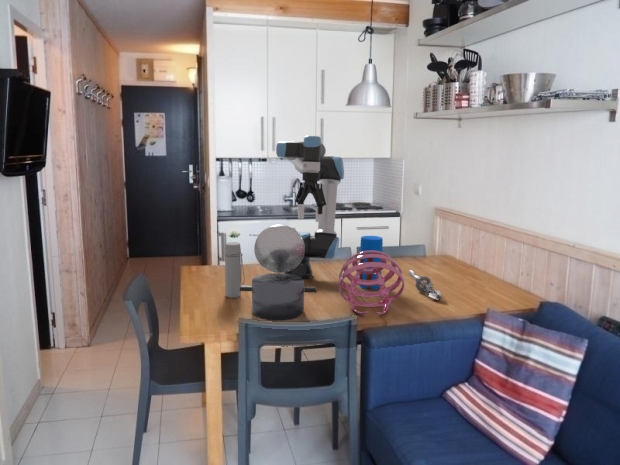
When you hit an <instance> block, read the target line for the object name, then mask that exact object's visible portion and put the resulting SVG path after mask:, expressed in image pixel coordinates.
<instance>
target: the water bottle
mask: <svg viewBox="0 0 620 465" xmlns="http://www.w3.org/2000/svg"><path fill="white" fill-rule="evenodd" d="M243 255H244V253H242V250H241V243H240V242H238V241H237V242H236V241H230V242H225V250H224V264H225V266H224V268H225V269H224V272H225V274H224V276H225V278H224V279H225V281H224V282H225V283H224V284H225V285H224V286H225V288H224V289H225V291H224V292H225V297H227V298H228V299H229V298H230V299H236V298H240V296H241V293H242V291H240V285H245V281H246V280H245V272H244V269H243V268H244V262H243ZM242 276H243V281H242ZM242 282H243V283H242Z"/></svg>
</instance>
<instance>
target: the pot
mask: <svg viewBox="0 0 620 465" xmlns="http://www.w3.org/2000/svg"><path fill="white" fill-rule="evenodd" d="M240 291H241V292H251V313H252V315H253V316H254V317H257V318H258V319H262V320H267V321H275V322H276V321H291V320H294V319H295V320H296V319H298V318H300V317H302V316H303V314H304V313H305V312H304V308H305V293H317V287H316V286H305V279H303V278H302V277H299V276H297V275H292V274H284V273H276V272H272V273H265V274H260V275H256V276H255V277H253V278H252V279H251V285H245V284H244V285H242V284H241V285H240Z"/></svg>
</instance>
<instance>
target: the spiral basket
mask: <svg viewBox="0 0 620 465" xmlns="http://www.w3.org/2000/svg"><path fill="white" fill-rule="evenodd" d="M364 254H365V255H364ZM364 258H381V262H366V263H361V264H360V263H359V262H358V261H360V259H364ZM387 261H388V262H391V264H389V263H387ZM351 264H352V266H351V267H349V266H350V265H351ZM369 267H373V268H372V269H365V268H369ZM384 269H386V270H388V272H387V273H386V274H385V275H384V276H382V274H381V275H380V271H381V272H382V271H383V270H384ZM354 272H356V273H355V275H353V273H354ZM361 273H363V274H376V275H377V279H375V280H361V279H359V275H360V274H361ZM395 274H396V275H397V276H398V277H397V279H396V281H394V283H392V284H391V285H389V286H388V287H386V282H388V281H389V280H390V279H392V278H393V277H394V275H395ZM345 278H347V280H349V281H350V286H348V285H347V284H346V282H345V281H344V279H345ZM400 284H401V287H400V289H399V290H398V292H396V294H394V295H392V296H391V297H389V294H391V293H392V292H393V291H394V290H396V289H397V288H398V287H399V286H400ZM337 285H338V286H337V287H338V290H339V291H338V293H339V294H340V296H341V297H342V299H344V300H345V301H346V302H347V303H348V304H349V306H350V307H351V309H352V310H353V311H354V312H355V313H356V314H358V315H360V316H361V315H363V316H364V315H367V314H369V311H368V310H367V311H363V312H362V311H359V310H358V309H357V308H356V306H358V307H363V308H377V307H382V311H381V312H379V311H376V314H377V315H379V316H383V315H385V314H387V311H388V309H389V305H390V304H391V303H393V302H394V301H396V300H397V299H399V297H400V296H401V295H402V293H403V292H404V288H405V279H404V276H403V271H402V268H401V267H400V264H399V263H398V262H396V260H394V259H393V257H392V256H390V255H388V254H387V253H385V252H383V251H382V252H380V251H373V250H369V251H363V252H360V251H359V252H357V253H355V254H353V255H351V257H349V258H348V259H347V260H346V262H345V263H344V264H343V266H342V267H341V269H340V272H339V274H338V284H337ZM359 285H363V286H374V285H379V286H380V288H379V290H377V291H360V290H357V289H356V286H359ZM342 288H343V290H345V292H347V293H348V296H347V295H346V294H345V293H344V292H343V290H342ZM355 297H361V298H376V297H377V298H378V297H381V298H382V300H380V301H375V302H363V301H359V300H356V299H355Z"/></svg>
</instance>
